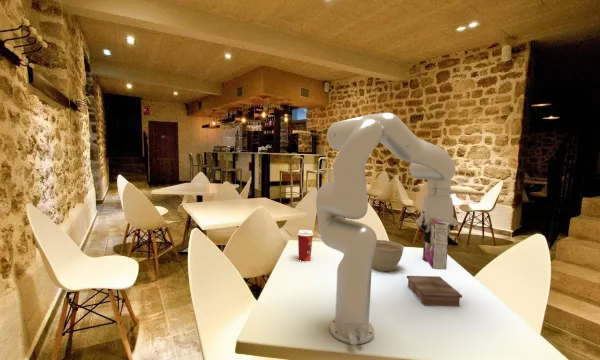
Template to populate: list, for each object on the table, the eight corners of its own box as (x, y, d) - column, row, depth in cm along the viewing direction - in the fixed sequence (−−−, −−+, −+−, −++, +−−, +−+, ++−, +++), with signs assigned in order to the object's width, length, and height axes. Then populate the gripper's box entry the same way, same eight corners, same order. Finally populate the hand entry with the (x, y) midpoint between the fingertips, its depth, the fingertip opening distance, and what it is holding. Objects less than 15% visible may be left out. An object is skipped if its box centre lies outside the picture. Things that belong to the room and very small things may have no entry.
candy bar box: (423, 258, 113) (425, 216, 112) (437, 259, 112) (439, 216, 111) (431, 269, 102) (434, 222, 101) (446, 270, 101) (449, 223, 100)
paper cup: (312, 262, 138) (313, 233, 137) (296, 262, 138) (297, 233, 137) (312, 257, 146) (313, 229, 145) (296, 256, 146) (297, 229, 145)
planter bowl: (407, 275, 126) (408, 250, 125) (369, 274, 127) (370, 249, 126) (395, 262, 142) (397, 240, 142) (362, 260, 143) (363, 239, 142)
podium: (461, 306, 100) (462, 295, 100) (423, 305, 100) (424, 294, 100) (438, 286, 116) (439, 276, 116) (406, 285, 116) (406, 275, 116)
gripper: (456, 192, 109) (453, 240, 111) (410, 191, 109) (408, 239, 110) (468, 195, 102) (464, 246, 103) (419, 194, 101) (416, 245, 103)
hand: (435, 242), depth 107 cm, fingers closed on candy bar box, 5 cm apart
